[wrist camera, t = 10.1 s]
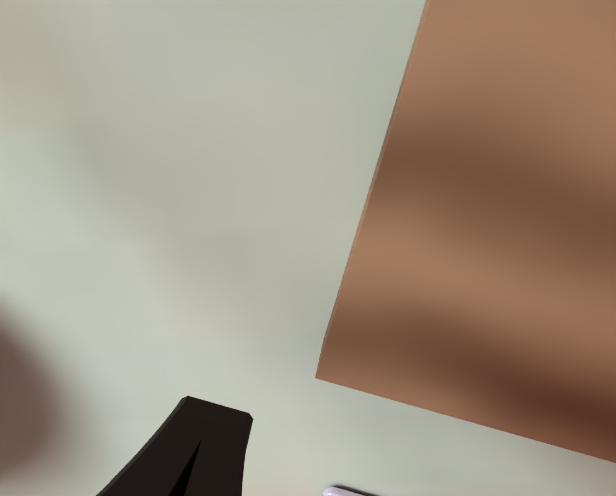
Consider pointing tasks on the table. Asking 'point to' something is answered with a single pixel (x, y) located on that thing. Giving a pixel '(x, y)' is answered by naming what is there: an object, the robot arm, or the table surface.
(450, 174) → the deck
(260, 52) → the table surface
